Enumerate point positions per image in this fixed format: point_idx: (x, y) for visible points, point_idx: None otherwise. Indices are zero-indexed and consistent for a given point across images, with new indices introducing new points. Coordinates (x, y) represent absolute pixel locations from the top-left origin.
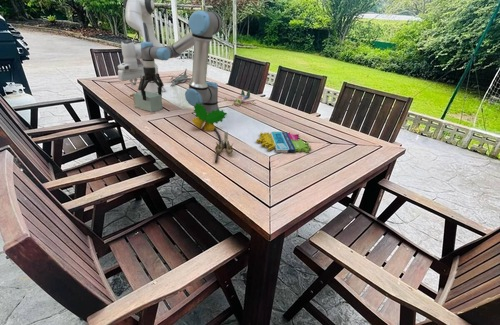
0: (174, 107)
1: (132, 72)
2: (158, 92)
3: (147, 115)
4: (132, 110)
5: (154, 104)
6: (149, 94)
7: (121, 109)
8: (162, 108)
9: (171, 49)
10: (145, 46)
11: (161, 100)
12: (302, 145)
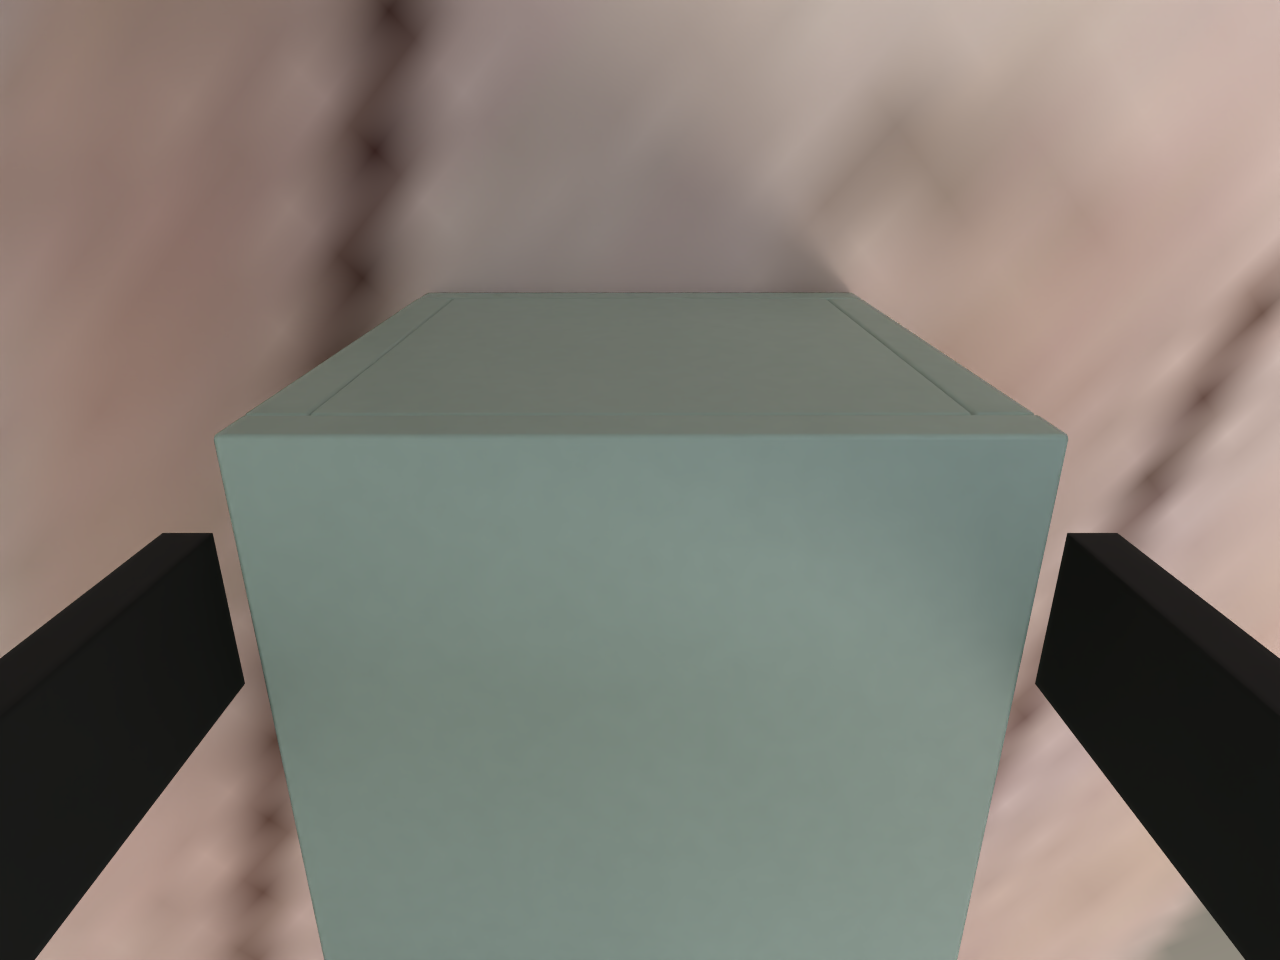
0: (36, 130)
1: None
2: (138, 782)
3: (1149, 153)
4: (1018, 728)
5: (748, 338)
6: (616, 874)
7: (1088, 906)
8: (432, 296)
9: None
10: None
11: (354, 355)
12: None
